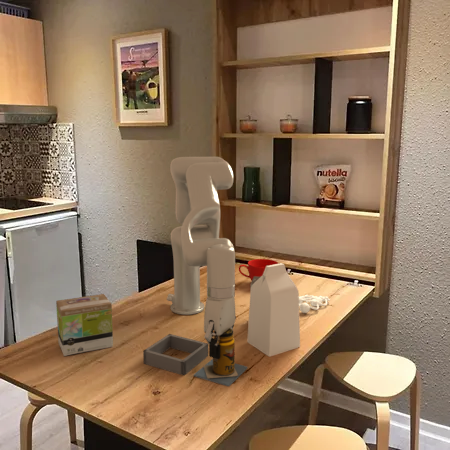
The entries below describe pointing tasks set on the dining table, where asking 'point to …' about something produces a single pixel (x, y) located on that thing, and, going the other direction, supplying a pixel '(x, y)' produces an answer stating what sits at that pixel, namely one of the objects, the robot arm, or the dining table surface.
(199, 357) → the bin
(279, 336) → the milk
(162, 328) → the dining table surface
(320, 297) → the tangled rod sculpture
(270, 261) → the ceramic cup
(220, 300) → the robot arm
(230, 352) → the condiment
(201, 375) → the slate mat
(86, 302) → the tea box
